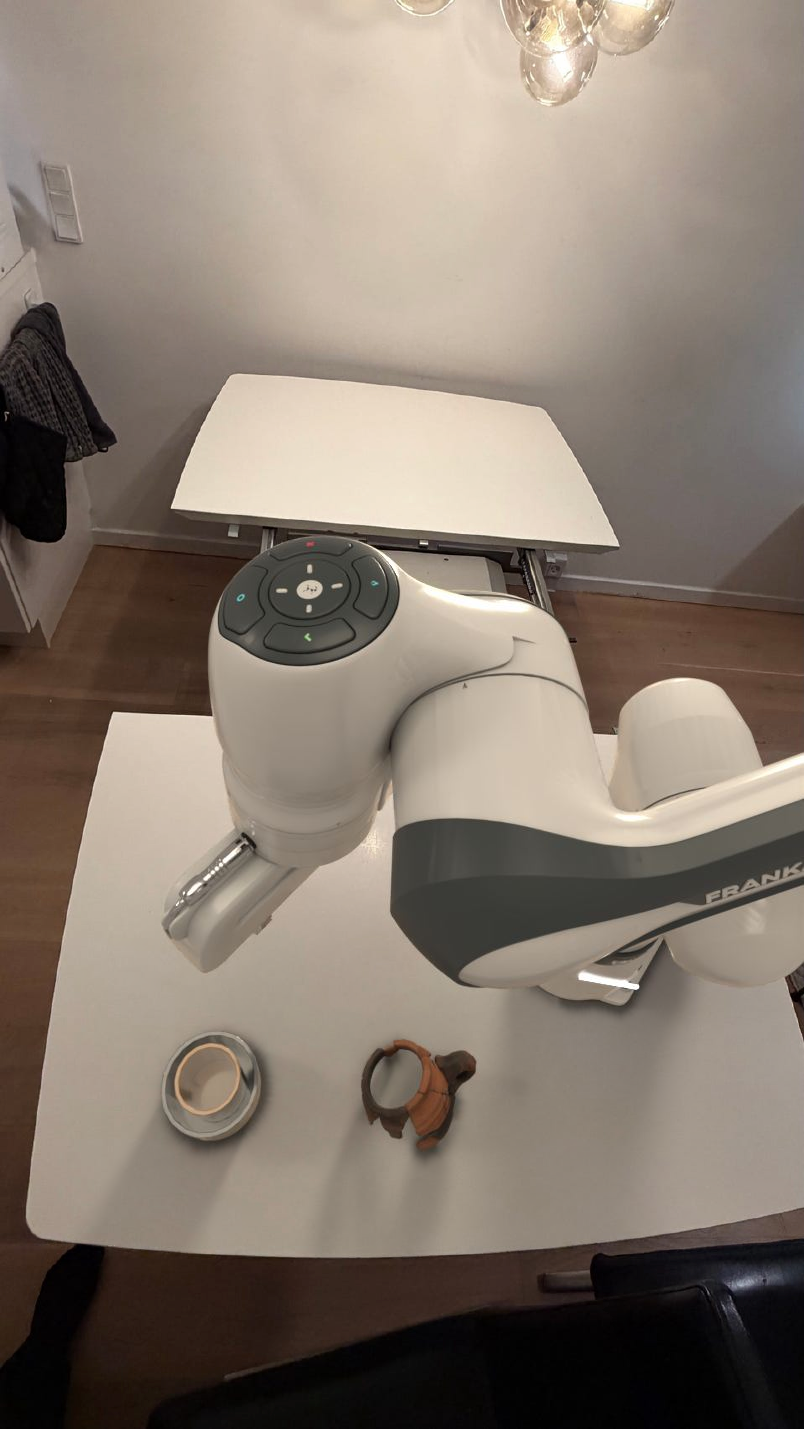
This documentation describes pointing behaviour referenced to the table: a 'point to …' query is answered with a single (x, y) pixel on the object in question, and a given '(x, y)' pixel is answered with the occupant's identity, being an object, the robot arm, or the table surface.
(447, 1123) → the pottery mug
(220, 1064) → the tan hollow cylinder
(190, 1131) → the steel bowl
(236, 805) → the robot arm
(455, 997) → the table surface
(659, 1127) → the table surface
